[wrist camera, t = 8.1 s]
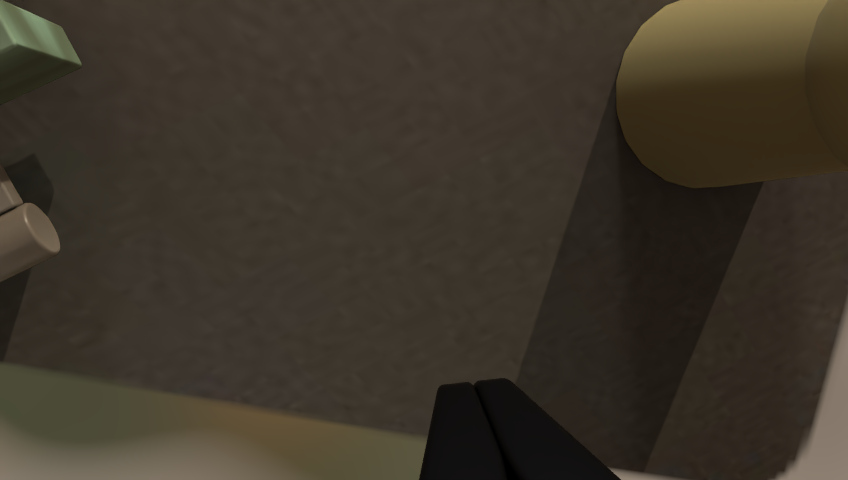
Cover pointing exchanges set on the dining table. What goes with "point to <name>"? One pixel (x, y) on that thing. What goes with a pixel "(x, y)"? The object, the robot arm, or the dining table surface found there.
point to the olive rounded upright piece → (738, 91)
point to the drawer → (5, 80)
